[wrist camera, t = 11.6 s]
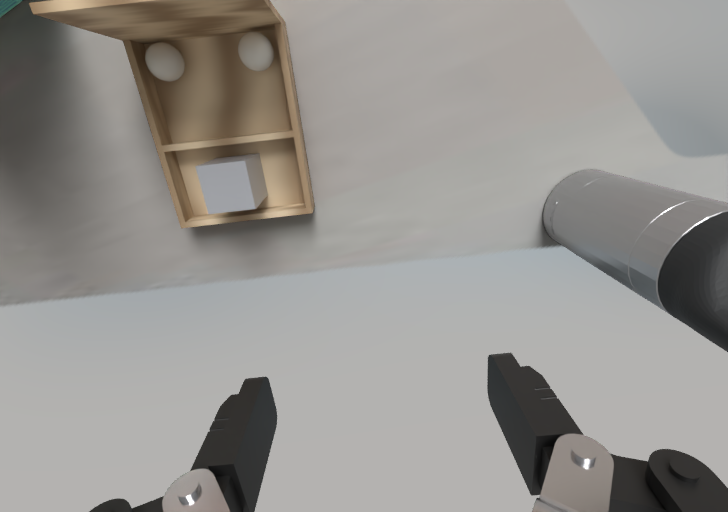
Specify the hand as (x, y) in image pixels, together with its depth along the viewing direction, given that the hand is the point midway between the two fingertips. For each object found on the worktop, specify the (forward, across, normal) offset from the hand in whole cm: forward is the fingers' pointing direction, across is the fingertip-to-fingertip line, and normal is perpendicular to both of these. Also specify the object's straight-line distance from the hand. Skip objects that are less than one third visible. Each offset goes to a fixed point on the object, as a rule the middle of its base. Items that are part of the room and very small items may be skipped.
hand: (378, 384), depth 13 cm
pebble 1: (+28, +17, -15) cm, 36 cm away
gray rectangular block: (+29, +13, -4) cm, 32 cm away
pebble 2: (+28, +8, -15) cm, 33 cm away
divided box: (+30, +13, -9) cm, 34 cm away
